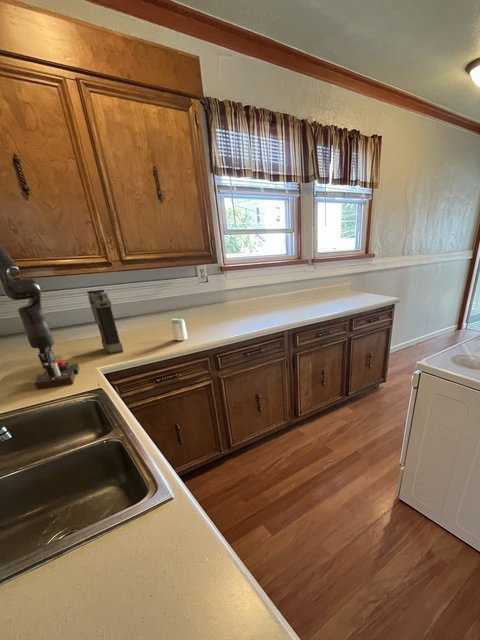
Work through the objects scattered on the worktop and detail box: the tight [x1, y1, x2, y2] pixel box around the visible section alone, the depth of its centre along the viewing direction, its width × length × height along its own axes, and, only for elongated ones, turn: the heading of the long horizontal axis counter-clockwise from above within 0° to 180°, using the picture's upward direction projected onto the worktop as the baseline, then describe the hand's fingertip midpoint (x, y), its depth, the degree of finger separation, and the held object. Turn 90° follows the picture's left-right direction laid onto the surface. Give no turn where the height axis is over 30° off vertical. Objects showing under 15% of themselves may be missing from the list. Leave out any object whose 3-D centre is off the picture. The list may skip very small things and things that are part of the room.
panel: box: [34, 370, 76, 391], centre depth 133 cm, size 12×10×3 cm
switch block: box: [43, 361, 80, 375], centre depth 142 cm, size 12×8×4 cm, turn 118°
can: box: [171, 317, 188, 342], centre depth 186 cm, size 7×7×12 cm
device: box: [86, 289, 124, 355], centre depth 165 cm, size 14×8×30 cm, turn 42°
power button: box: [55, 360, 65, 367], centre depth 141 cm, size 4×4×2 cm
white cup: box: [44, 360, 61, 378], centre depth 131 cm, size 4×4×6 cm
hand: (53, 373), depth 132 cm, fingers open, 6 cm apart
